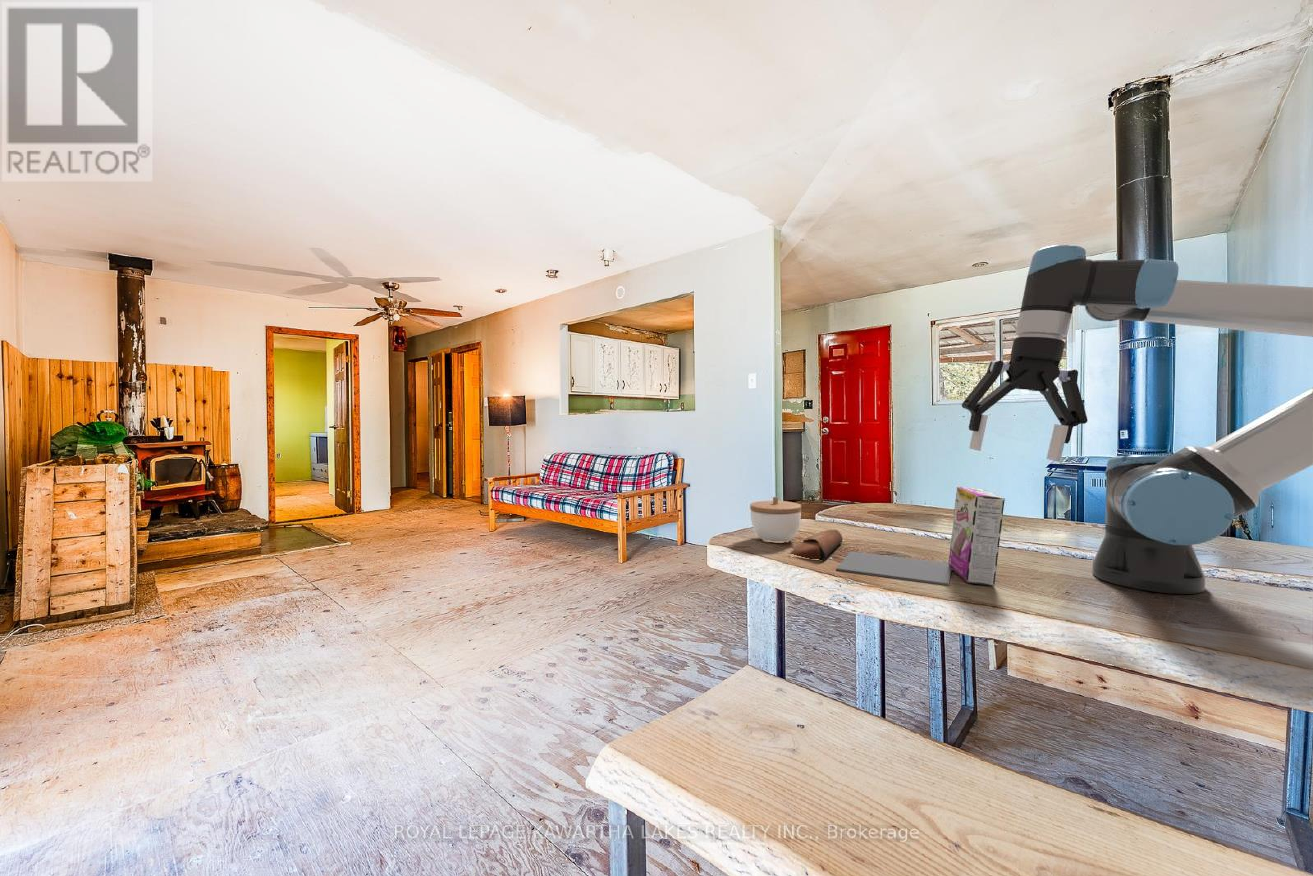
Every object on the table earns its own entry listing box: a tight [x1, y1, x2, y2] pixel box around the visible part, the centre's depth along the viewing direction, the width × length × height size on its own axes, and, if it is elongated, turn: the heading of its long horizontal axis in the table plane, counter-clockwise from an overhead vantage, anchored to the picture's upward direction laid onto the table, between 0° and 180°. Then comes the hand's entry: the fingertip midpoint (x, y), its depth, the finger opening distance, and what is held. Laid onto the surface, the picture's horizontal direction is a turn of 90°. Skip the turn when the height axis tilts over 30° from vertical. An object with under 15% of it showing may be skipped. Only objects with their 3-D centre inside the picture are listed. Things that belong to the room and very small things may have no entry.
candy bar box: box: [947, 486, 1006, 586], centre depth 100 cm, size 11×5×16 cm, turn 167°
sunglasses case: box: [789, 529, 843, 562], centre depth 121 cm, size 18×7×7 cm
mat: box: [835, 551, 952, 587], centre depth 107 cm, size 20×15×1 cm
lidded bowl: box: [749, 496, 802, 541], centre depth 132 cm, size 13×13×11 cm
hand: (1013, 455), depth 95 cm, fingers open, 13 cm apart
